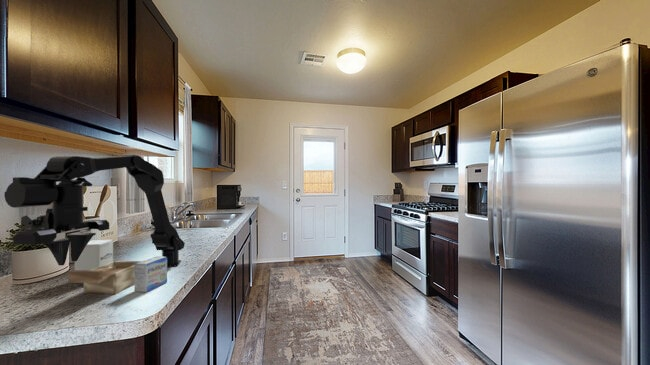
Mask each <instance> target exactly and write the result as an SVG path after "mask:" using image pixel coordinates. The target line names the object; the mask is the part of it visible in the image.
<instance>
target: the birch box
mask: <svg viewBox="0 0 650 365" xmlns="http://www.w3.org/2000/svg"><path fill="white" fill-rule="evenodd" d="M142 261H143V260H138V261H137V260H136V261H135V260H134V261H133V260H130V261H129V260H115V261H114V260H113V262H112V263H109V264H106V265H104V266H101V267H98V268H95V269H93V270H97V269H100V268H124V269H123V270H121V271H119V272H116V273H115V276H114V277H112V278H109V279H107V280H105V281H102V282H100V283H83V294H98V295H99V294H100V295H102V294H104V295H105V294H107V295H108V294H109V295H111V294H112V295H113V294H114V295H115V294H116V295H117V294H119V293H120V292H123V291H125V290H127V289H128V288H130V287H132V286H135V274H134V264H136V263H139V262H142Z"/></svg>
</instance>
